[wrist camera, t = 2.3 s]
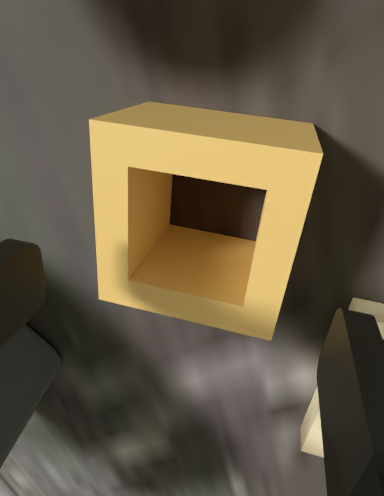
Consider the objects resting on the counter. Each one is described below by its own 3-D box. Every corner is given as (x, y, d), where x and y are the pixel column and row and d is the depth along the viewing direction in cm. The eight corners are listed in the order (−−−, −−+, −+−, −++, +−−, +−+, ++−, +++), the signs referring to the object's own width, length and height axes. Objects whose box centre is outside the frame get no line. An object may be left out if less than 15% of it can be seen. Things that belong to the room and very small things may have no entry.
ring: (149, 101, 14) (89, 119, 10) (313, 123, 13) (323, 153, 9) (145, 241, 18) (98, 298, 13) (276, 268, 16) (271, 340, 12)
